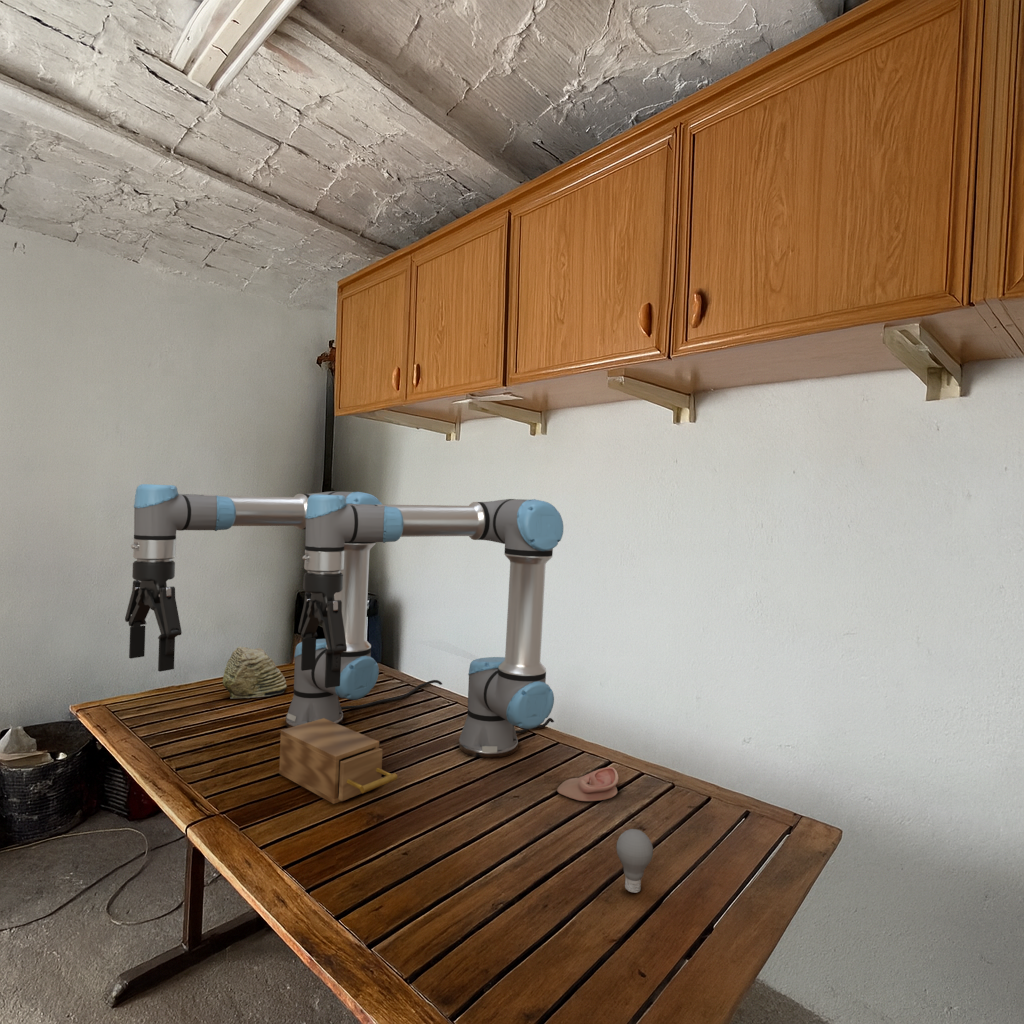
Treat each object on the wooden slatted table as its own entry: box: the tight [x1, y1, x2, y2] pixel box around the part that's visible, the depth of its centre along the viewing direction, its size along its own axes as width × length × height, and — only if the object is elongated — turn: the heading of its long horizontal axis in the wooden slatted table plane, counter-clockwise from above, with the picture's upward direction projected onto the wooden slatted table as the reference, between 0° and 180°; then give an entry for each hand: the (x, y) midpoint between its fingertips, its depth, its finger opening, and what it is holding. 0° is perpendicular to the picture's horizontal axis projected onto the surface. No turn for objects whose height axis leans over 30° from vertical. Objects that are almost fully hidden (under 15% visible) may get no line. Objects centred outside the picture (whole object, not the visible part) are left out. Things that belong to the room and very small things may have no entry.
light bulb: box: [615, 828, 654, 894], centre depth 106 cm, size 6×6×10 cm
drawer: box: [338, 747, 398, 802], centre depth 138 cm, size 25×10×8 cm, turn 51°
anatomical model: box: [556, 766, 619, 802], centre depth 142 cm, size 13×4×12 cm
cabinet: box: [278, 718, 380, 805], centre depth 142 cm, size 21×12×10 cm, turn 51°
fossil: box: [222, 646, 288, 699], centre depth 198 cm, size 9×18×15 cm, turn 132°
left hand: (150, 663), depth 129 cm, fingers open, 13 cm apart
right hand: (319, 677), depth 126 cm, fingers open, 13 cm apart
